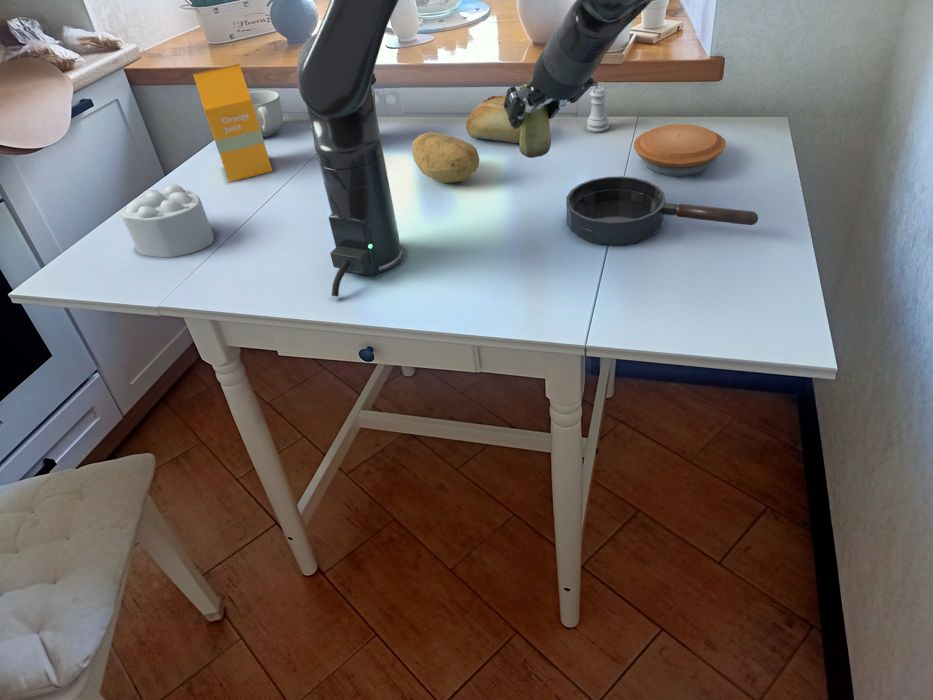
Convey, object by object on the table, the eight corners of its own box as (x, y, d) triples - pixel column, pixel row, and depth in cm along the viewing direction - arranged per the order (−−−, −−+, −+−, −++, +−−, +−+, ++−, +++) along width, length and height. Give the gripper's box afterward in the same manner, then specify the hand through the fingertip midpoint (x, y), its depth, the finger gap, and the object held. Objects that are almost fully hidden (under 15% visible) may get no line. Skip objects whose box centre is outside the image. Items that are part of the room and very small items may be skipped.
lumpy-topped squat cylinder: (165, 223, 129) (147, 179, 123) (227, 228, 125) (210, 182, 120) (129, 254, 121) (108, 208, 116) (193, 259, 118) (174, 213, 112)
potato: (459, 199, 124) (454, 156, 119) (404, 181, 132) (397, 139, 127) (495, 177, 129) (492, 135, 124) (440, 161, 137) (435, 120, 132)
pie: (639, 142, 135) (640, 116, 131) (726, 146, 130) (729, 119, 126) (625, 179, 124) (626, 152, 120) (719, 185, 119) (723, 157, 116)
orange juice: (273, 171, 142) (242, 69, 129) (228, 182, 140) (193, 80, 127) (266, 157, 148) (237, 58, 135) (224, 168, 146) (190, 68, 133)
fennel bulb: (546, 145, 118) (544, 71, 110) (558, 156, 114) (557, 80, 107) (513, 153, 117) (509, 79, 109) (525, 164, 113) (521, 88, 106)
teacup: (238, 129, 162) (227, 94, 157) (285, 119, 164) (275, 84, 159) (242, 151, 152) (230, 115, 146) (292, 140, 153) (282, 104, 148)
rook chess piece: (612, 125, 142) (613, 85, 137) (603, 134, 139) (604, 93, 134) (592, 123, 144) (592, 83, 139) (582, 131, 141) (582, 91, 136)
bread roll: (476, 127, 148) (473, 89, 143) (546, 130, 144) (544, 91, 138) (460, 146, 142) (455, 107, 137) (532, 150, 137) (530, 110, 132)
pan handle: (756, 228, 103) (758, 216, 101) (660, 217, 108) (661, 205, 107) (758, 221, 104) (760, 209, 103) (663, 211, 109) (664, 199, 108)
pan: (650, 253, 105) (652, 228, 102) (553, 240, 111) (553, 215, 108) (672, 205, 115) (674, 181, 113) (582, 195, 121) (582, 172, 118)
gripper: (603, 23, 100) (560, 86, 116) (513, 45, 95) (481, 108, 112) (624, 71, 99) (578, 128, 115) (534, 96, 95) (499, 151, 111)
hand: (530, 118), depth 113 cm, fingers closed on fennel bulb, 5 cm apart
